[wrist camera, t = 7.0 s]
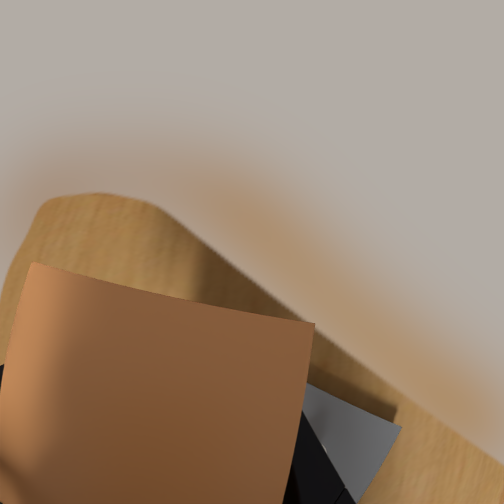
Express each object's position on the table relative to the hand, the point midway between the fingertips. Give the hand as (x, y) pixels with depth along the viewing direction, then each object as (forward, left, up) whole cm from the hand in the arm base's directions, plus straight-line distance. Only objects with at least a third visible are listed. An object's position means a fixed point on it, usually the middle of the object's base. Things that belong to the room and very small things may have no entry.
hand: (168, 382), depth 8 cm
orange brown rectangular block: (-1, 0, -7) cm, 7 cm away
